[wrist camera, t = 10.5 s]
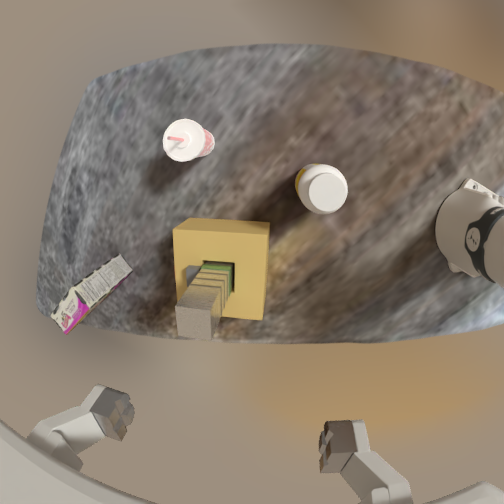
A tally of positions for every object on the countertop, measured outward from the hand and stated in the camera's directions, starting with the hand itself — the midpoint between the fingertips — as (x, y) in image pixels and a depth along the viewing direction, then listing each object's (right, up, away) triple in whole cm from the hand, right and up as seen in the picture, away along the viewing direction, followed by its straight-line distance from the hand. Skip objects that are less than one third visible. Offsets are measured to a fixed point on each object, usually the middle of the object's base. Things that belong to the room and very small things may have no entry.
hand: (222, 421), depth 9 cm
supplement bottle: (+11, +18, +34) cm, 40 cm away
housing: (-3, +6, +40) cm, 40 cm away
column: (-4, +4, +35) cm, 36 cm away
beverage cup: (-7, +25, +34) cm, 43 cm away
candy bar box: (-28, +2, +44) cm, 53 cm away
